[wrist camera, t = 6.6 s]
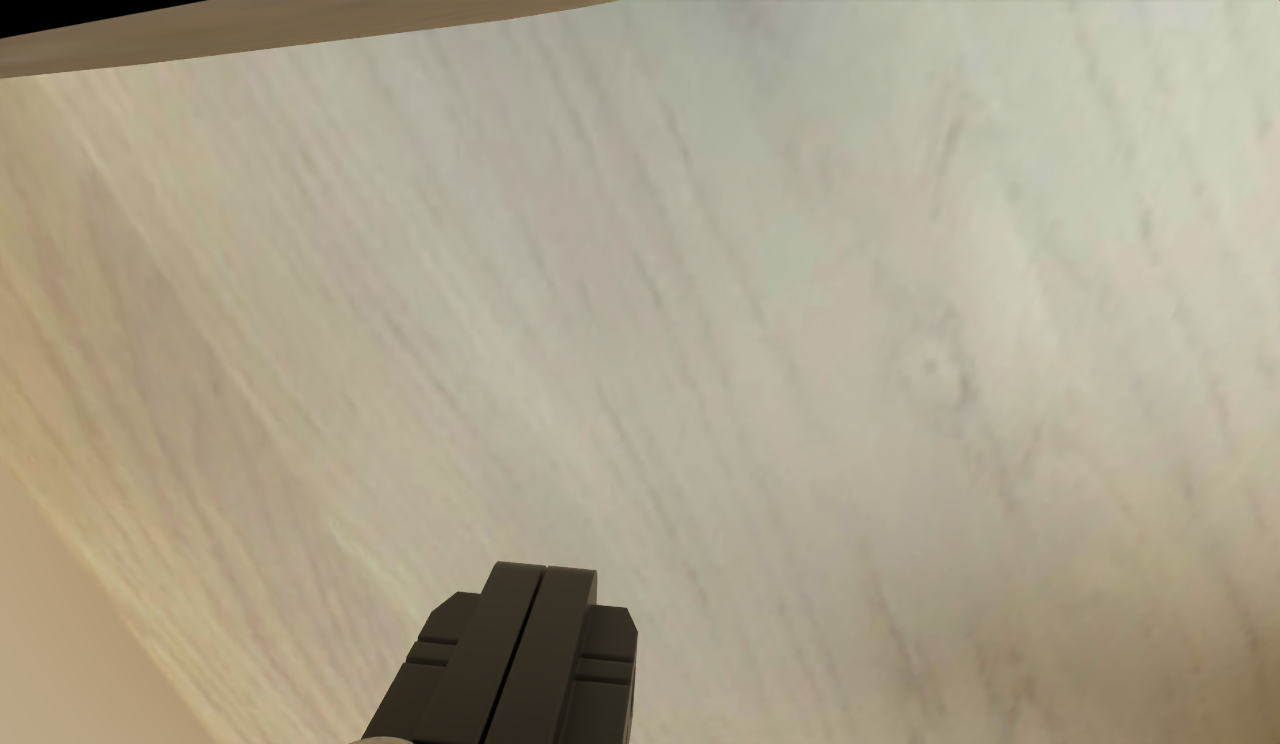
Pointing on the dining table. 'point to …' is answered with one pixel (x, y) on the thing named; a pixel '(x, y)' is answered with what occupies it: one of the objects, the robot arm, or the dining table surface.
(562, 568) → the robot arm
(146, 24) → the plant pot
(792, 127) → the dining table surface
